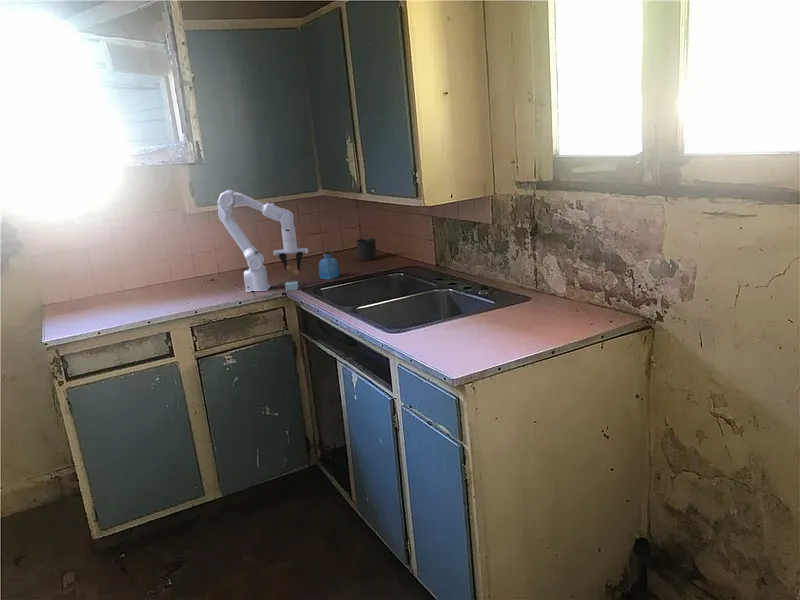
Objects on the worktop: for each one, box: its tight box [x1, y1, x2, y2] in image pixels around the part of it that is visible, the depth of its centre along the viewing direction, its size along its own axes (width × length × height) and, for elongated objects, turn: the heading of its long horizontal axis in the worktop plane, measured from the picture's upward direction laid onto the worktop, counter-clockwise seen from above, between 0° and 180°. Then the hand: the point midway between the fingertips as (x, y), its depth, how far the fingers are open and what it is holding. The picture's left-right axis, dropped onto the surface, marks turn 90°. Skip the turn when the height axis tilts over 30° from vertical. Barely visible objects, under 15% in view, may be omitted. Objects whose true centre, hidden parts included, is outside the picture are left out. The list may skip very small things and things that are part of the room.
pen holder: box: [356, 237, 377, 262], centre depth 325 cm, size 9×9×10 cm
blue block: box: [284, 280, 299, 292], centre depth 278 cm, size 5×5×3 cm
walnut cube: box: [286, 262, 300, 277], centre depth 282 cm, size 4×4×4 cm
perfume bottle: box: [318, 250, 340, 280], centre depth 293 cm, size 6×6×12 cm
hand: (293, 270), depth 282 cm, fingers closed on walnut cube, 4 cm apart
